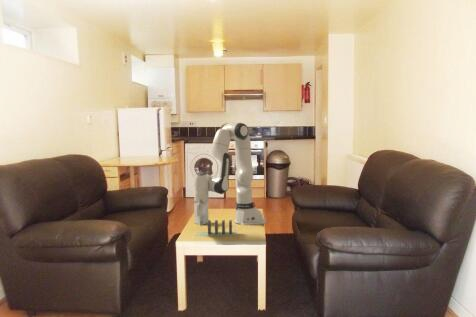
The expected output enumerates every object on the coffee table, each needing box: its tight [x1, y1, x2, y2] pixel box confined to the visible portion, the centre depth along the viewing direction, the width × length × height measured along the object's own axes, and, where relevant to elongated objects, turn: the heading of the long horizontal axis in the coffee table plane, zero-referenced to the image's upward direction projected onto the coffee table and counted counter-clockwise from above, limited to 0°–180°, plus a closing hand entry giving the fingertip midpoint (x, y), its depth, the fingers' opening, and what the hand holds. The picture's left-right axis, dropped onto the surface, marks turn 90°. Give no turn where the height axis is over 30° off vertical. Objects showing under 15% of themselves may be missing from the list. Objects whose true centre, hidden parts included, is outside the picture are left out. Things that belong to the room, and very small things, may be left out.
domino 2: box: [207, 219, 212, 236], centre depth 219 cm, size 2×4×8 cm, turn 179°
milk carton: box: [193, 201, 209, 225], centre depth 242 cm, size 7×7×19 cm
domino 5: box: [228, 219, 233, 234], centre depth 219 cm, size 2×4×8 cm, turn 179°
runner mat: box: [195, 231, 238, 236], centre depth 219 cm, size 26×7×1 cm, turn 89°
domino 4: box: [221, 219, 226, 236], centre depth 219 cm, size 2×4×8 cm, turn 179°
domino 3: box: [214, 219, 219, 236], centre depth 219 cm, size 2×4×8 cm, turn 179°
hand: (201, 219), depth 218 cm, fingers closed on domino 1, 4 cm apart
